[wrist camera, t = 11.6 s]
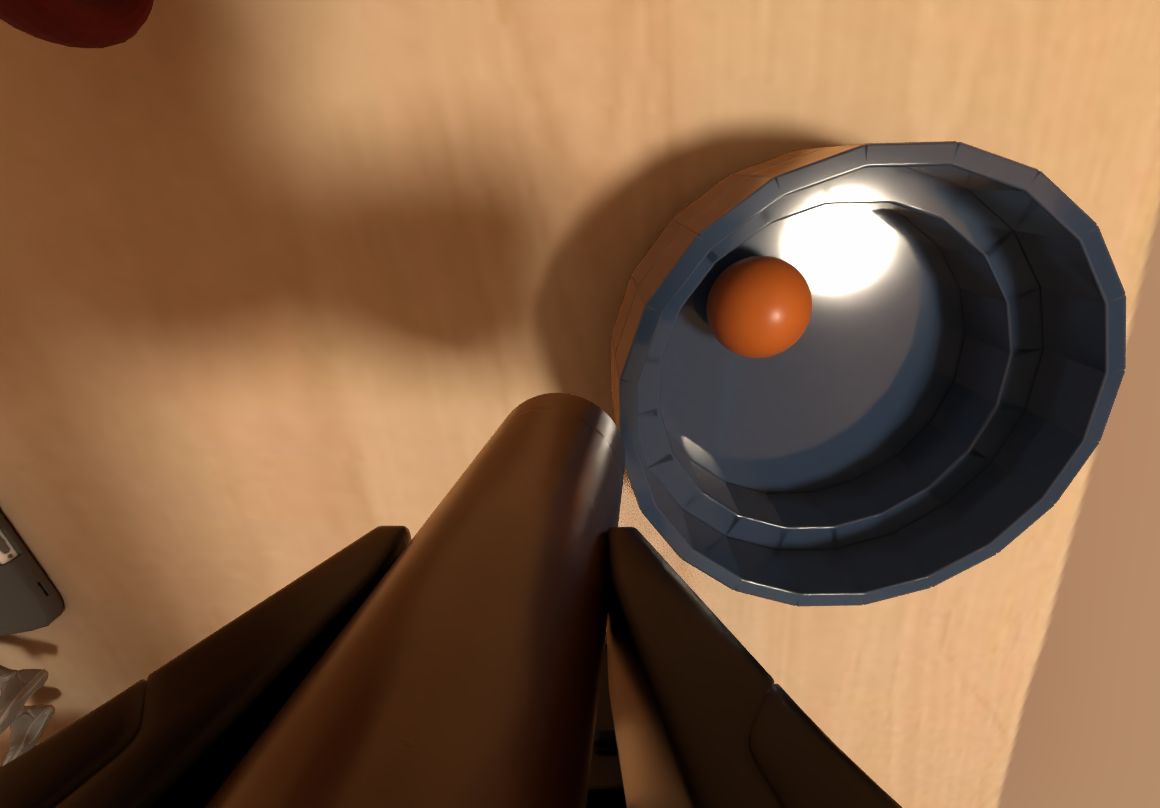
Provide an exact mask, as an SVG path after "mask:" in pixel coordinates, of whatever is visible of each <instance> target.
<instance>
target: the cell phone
mask: <svg viewBox="0 0 1160 808" xmlns="http://www.w3.org/2000/svg"><path fill="white" fill-rule="evenodd" d="M62 612H63V602H62V600H61V598H60V596H59V594H58V593H57V591H56V590H55V588H54V587H53V585H52V584H51V582H50V581H49V580H48V578H47V577H46V575H45V574H44V573H43V571H42V570H41V568H40V567H39V566H38V564H37V563H36V561H35V560H34V559H33V557H32V556H31V554H30V553H29V552H28V550H27V549H26V547H25V546H24V545H23V543H22V542H21V540H20V539H19V538H18V536H17V535H16V533H15V532H14V531H13V529H12V528H11V526H10V525H9V524H8V522H7V521H6V519H5V518H4V517H3V515H2V514H1V512H0V636H4V635H9V634H15V633H21V632H27V631H32V630H35V629H39V628H42V627H45V626H48V625H49V624H50V623H51V622H53V621H54V620H55V619H56V618H57V617H58V616H60V615H61V614H62Z"/></svg>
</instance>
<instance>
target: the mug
mask: <svg viewBox="0 0 1160 808" xmlns="http://www.w3.org/2000/svg"><path fill="white" fill-rule="evenodd" d="M153 1H154V0H0V19H1V20H3V21H5V22H6V23H8V24H9V25H11V26H13V27H14V28H16V29H18V30H21V31H23V32H25V33H27V34H30V35H32V36H34V37H36V38H39V39H42V40H46V41H49V42H52V43H56V44H61V45H65V46H69V47H77V48H104V47H108V46H112V45H116V44H119V43H123V42H125V41H127V40H128V39H130V38H131V37H133V36H134V35H135V34H136V33H137V31H138V30H139V29H140V28H141V26H142V25H143V24H144V22H145V21H146V20H147V17H148V15H149V13H150V11H151V9H152V5H153Z"/></svg>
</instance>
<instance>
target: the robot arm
mask: <svg viewBox="0 0 1160 808" xmlns="http://www.w3.org/2000/svg"><path fill="white" fill-rule="evenodd" d="M410 542H411V535H410V532H409V529H408V528H407V527H405V526H379V527H377V528H375V529H373V530H372V531H370V532H369V533H367V534H366V535H364V536H363V537H361V538H360V539H358V540H356V541H355V542H353V543H352V544H350V545H349V546H347V547H346V548H344V549H343V550H341V551H339V552H338V553H336V554H335V555H333V556H332V557H330V558H329V559H327V560H326V561H324V562H323V563H321V564H319V565H318V566H316V567H315V568H313V569H312V570H310V571H309V572H307V573H306V574H304V575H302V576H301V577H299V578H298V579H296V580H295V581H293V582H292V583H290V584H289V585H287V586H286V587H284V588H282V589H281V590H279V591H278V592H276V593H275V594H273V595H272V596H270V597H269V598H267V599H265V600H264V601H262V602H261V603H259V604H258V605H256V606H255V607H253V608H252V609H250V610H249V611H247V612H245V613H244V614H242V615H241V616H239V617H238V618H236V619H235V620H233V621H232V622H230V623H228V624H227V625H225V626H224V627H222V628H221V629H219V630H218V631H216V632H215V633H213V634H211V635H210V636H208V637H207V638H205V639H204V640H202V641H201V642H199V643H198V644H196V645H194V646H193V647H191V648H190V649H188V650H187V651H185V652H184V653H182V654H181V655H179V656H177V657H176V658H174V659H173V660H171V661H170V662H168V663H167V664H165V665H164V666H162V667H160V668H159V669H157V670H156V671H154V672H153V673H151V674H150V675H149V676H148V679H147V681H146V680H140V681H139V682H137V683H136V684H134V685H132V686H131V687H129V688H128V689H126V690H125V691H123V692H122V693H120V694H119V695H117V696H115V697H114V698H112V699H111V700H109V701H108V702H106V703H105V704H103V705H101V706H100V707H98V708H97V709H95V710H93V711H92V712H90V713H89V714H87V715H86V716H84V717H82V718H81V719H79V720H78V721H76V722H74V723H73V724H71V725H70V726H68V727H66V728H65V729H63V730H62V731H60V732H58V733H57V734H55V735H54V736H52V737H50V738H49V739H47V740H45V741H44V742H42V743H40V744H39V745H37V746H35V747H34V748H32V749H30V750H29V751H27V752H25V753H24V754H22V755H20V756H18V757H17V758H15V759H13V760H12V761H10V762H8V763H7V764H5V765H3V766H2V767H0V808H204V807H205V806H206V805H207V803H208V802H209V801H210V799H211V798H212V797H213V796H214V794H215V793H216V792H217V790H218V789H219V788H220V786H221V785H222V784H223V783H224V781H225V780H226V779H227V777H228V776H229V775H230V774H231V772H232V771H233V770H234V768H235V767H236V766H237V765H238V763H239V762H240V761H241V759H242V758H243V757H244V756H245V754H246V753H247V752H248V750H249V749H250V748H251V747H252V745H253V744H254V743H255V741H256V740H257V739H258V737H259V736H260V735H261V734H262V732H263V731H264V730H265V728H266V727H267V726H268V725H269V723H270V722H271V721H272V719H273V718H274V717H275V716H276V714H277V713H278V712H279V710H280V709H281V708H282V707H283V705H284V704H285V703H286V701H287V700H288V699H289V698H290V696H291V695H292V694H293V692H294V691H295V690H296V688H297V687H298V686H299V685H300V683H301V682H302V681H303V679H304V678H305V677H306V676H307V674H308V673H309V672H310V670H311V669H312V668H313V667H314V665H315V664H316V663H317V661H318V660H319V659H320V658H321V656H322V655H323V654H324V652H325V651H326V650H327V649H328V647H329V646H330V645H331V643H332V642H333V641H334V640H335V638H336V637H337V636H338V634H339V633H340V632H341V630H342V629H343V628H344V627H345V625H346V624H347V623H348V621H349V620H350V619H351V618H352V616H353V615H354V614H355V612H356V611H357V610H358V609H359V607H360V606H361V605H362V603H363V602H364V601H365V600H366V598H367V597H368V596H369V594H370V593H371V592H372V591H373V589H374V588H375V587H376V585H377V584H378V583H379V581H380V580H381V579H382V578H383V576H384V575H385V574H386V572H387V571H388V570H389V569H390V567H391V566H392V565H393V563H394V562H395V561H396V560H397V558H398V557H399V556H400V554H401V553H402V552H403V551H404V549H405V548H406V547H407V545H408V544H409V543H410ZM607 552H608V581H609V608H608V618H607V645H604V654H603V663H602V672H601V680H600V689H599V698H598V707H597V716H596V725H595V734H594V742H593V751H592V760H591V769H590V778H589V787H588V796H587V804H586V808H902V807H901V806H900V805H899V804H898V803H897V802H896V801H895V800H894V799H892V798H891V797H890V796H889V795H888V794H887V793H886V792H885V791H884V790H883V789H881V788H880V787H879V786H878V785H877V784H876V783H875V782H874V781H873V780H872V779H871V778H870V777H869V776H868V775H867V774H866V773H865V772H864V771H862V770H861V769H860V768H859V767H858V766H857V765H856V764H855V763H854V762H853V761H852V760H851V759H850V758H849V757H848V756H847V755H846V754H845V753H844V752H843V751H841V750H840V749H839V748H838V747H837V746H836V745H835V744H834V743H833V742H832V741H831V740H830V739H829V738H828V737H827V736H826V735H825V733H824V732H823V731H822V730H821V729H820V728H819V727H818V726H817V725H816V724H815V723H814V722H813V721H812V720H811V719H810V718H809V717H808V716H807V715H806V714H805V713H804V712H803V711H802V709H801V708H800V707H799V706H798V705H797V704H796V703H795V702H794V701H793V700H792V699H791V698H790V696H789V695H788V694H787V693H786V692H785V691H784V690H783V689H782V688H781V687H780V685H778V684H774V680H773V678H772V677H771V676H770V675H769V674H768V673H767V672H766V670H765V669H764V668H763V667H762V666H761V665H760V664H759V663H758V662H757V661H756V659H755V658H754V657H753V656H752V655H751V654H750V653H749V652H748V651H747V650H746V648H745V647H744V646H743V645H742V644H741V643H740V642H739V641H738V640H737V639H736V638H735V636H734V635H733V634H732V633H731V632H730V631H729V630H728V629H727V628H726V627H725V625H724V624H723V623H722V622H721V621H720V620H719V619H718V618H717V617H716V616H715V614H714V613H713V612H712V611H711V610H710V609H709V608H708V607H707V606H706V605H705V603H704V602H703V601H702V600H701V599H700V598H699V597H698V596H697V595H696V594H695V592H694V591H693V590H692V589H691V588H690V587H689V586H688V585H687V584H686V583H685V581H684V580H683V579H682V578H681V577H680V576H679V575H678V574H677V573H676V572H675V570H674V569H673V568H672V567H671V566H670V565H669V564H668V563H667V562H666V561H665V560H664V558H663V557H662V556H661V555H660V554H659V553H658V552H657V551H656V550H655V549H654V547H653V546H652V545H651V544H650V543H649V542H648V541H647V540H646V539H645V538H644V536H643V535H642V534H641V533H640V532H639V531H638V530H637V529H636V528H634V527H610V528H609V529H608V530H607Z"/></svg>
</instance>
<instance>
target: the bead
mask: <svg viewBox="0 0 1160 808" xmlns="http://www.w3.org/2000/svg"><path fill="white" fill-rule="evenodd" d="M706 313H707V320H708V323H709V326H710V329H711V331H712V333H713V335H714V336H715V338H716V339H717V340H718V341H719V343H720V344H721V345H722V346H724V347H725V348H726V349H728V350H729V351H731V352H733V353H735V354H737V355H740V356H743V357H748V358H766V357H770V356H774V355H777V354H779V353H781V352H783V351H785V350H787V349H788V348H789V347H791V346H792V345H794V344H795V343H796V342H797V341H798V340H799V338H800V337H801V336H802V335H803V333H804V332H805V330H806V328H807V326H808V324H809V321H810V318H811V313H812V295H811V291H810V288H809V285H808V283H807V281H806V280H805V278H804V276H803V275H802V274H801V273H800V272H799V271H798V270H797V269H796V268H795V267H794V266H793V265H791V264H790V263H788V262H786V261H784V260H782V259H779V258H776V257H771V256H752V257H748V258H745V259H742V260H739V261H737V262H735V263H733V264H732V265H730V266H729V267H728V268H726V269H725V270H724V271H723V272H722V273H721V274H720V275H719V276H718V278H717V279H716V280H715V282H714V284H713V285H712V287H711V290H710V292H709V295H708V299H707V306H706Z"/></svg>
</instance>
